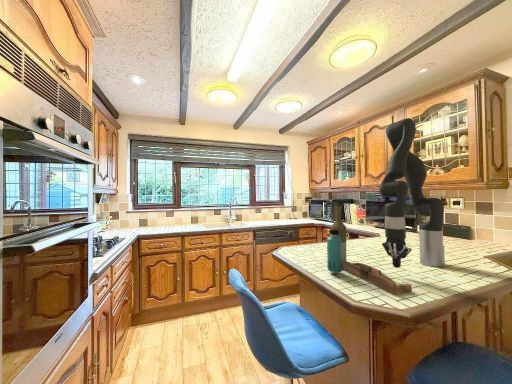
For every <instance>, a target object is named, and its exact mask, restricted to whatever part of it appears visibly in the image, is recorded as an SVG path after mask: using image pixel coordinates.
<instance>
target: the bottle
mask: <svg viewBox="0 0 512 384" xmlns="http://www.w3.org/2000/svg"><path fill="white" fill-rule="evenodd" d="M334 210H335V221H334V223H332V224H331V226H330V229H337V230H339V234H338V235H332V234H330V236H337V237H339V238H341V240H342V241H341V247H342V269H343V261H347V225H345V223H344V222H343V221H342V206H341V205H335V209H334Z"/></svg>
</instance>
